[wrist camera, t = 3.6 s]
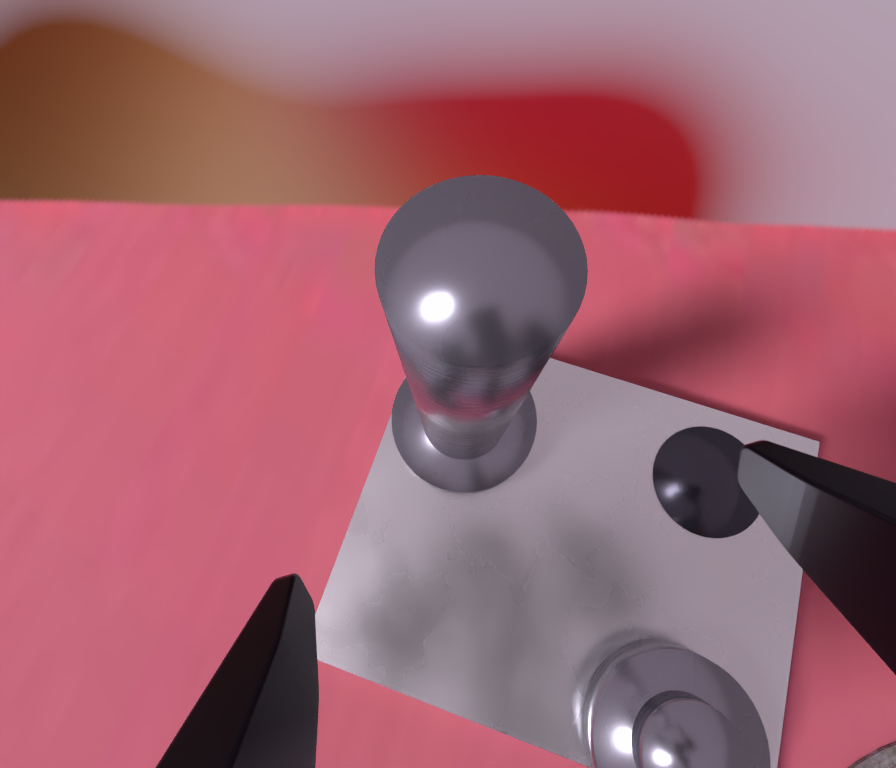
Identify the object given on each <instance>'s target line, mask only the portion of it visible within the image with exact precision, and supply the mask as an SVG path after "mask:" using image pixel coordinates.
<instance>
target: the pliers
mask: <svg viewBox="0 0 896 768" xmlns="http://www.w3.org/2000/svg"><path fill="white" fill-rule="evenodd" d="M848 768H896V741H895V742H893V743H890V744H888V745H885V746H883V747H880V748H878V749H876V750H875V751H873V752H871V753H869V754H868V755H866V756H864V757H862V758H861V759H859V760H857V761H856V762H854V763H853V764H852V765H851V766H849V767H848Z"/></svg>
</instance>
